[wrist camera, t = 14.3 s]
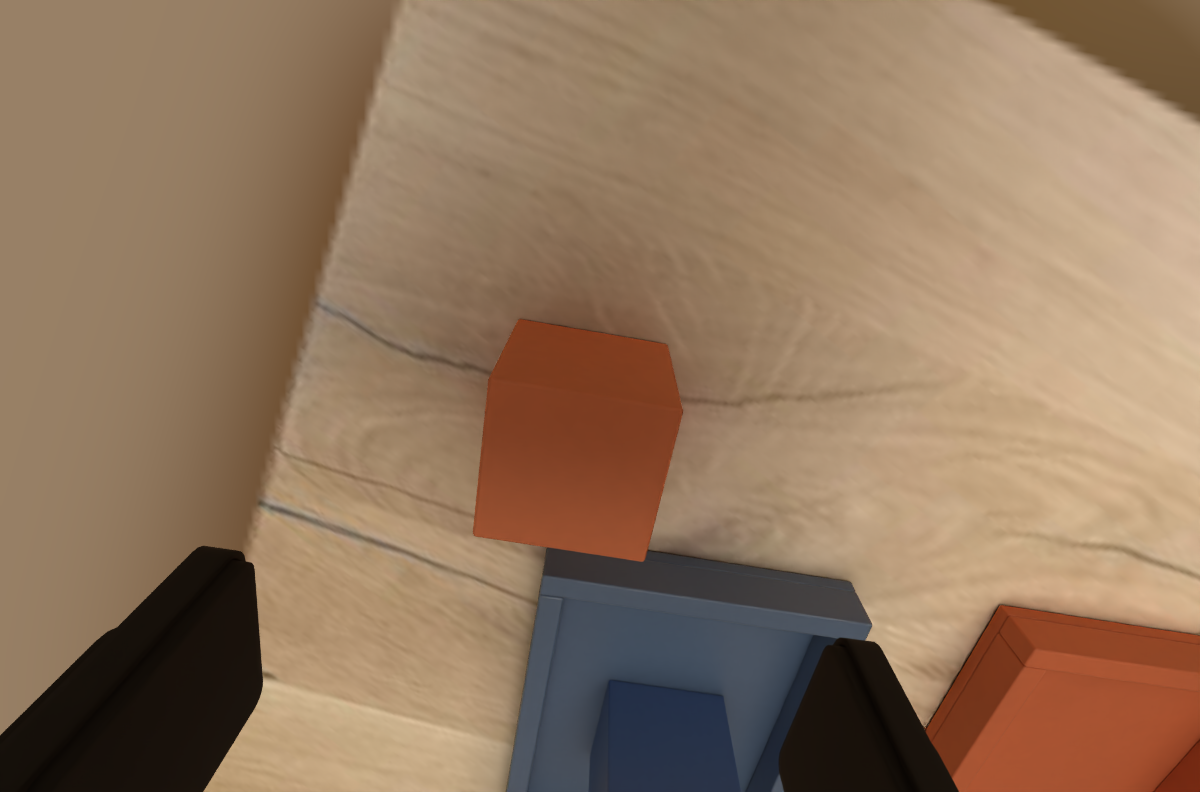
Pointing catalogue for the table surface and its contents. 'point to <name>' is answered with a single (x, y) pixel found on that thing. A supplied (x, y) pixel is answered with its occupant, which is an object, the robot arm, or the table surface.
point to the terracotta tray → (1073, 708)
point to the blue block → (662, 742)
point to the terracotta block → (576, 441)
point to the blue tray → (672, 654)
